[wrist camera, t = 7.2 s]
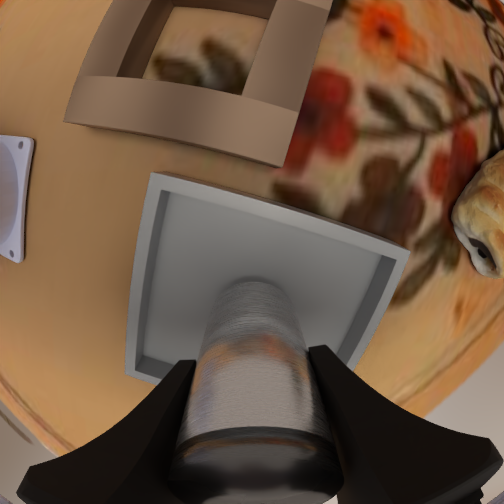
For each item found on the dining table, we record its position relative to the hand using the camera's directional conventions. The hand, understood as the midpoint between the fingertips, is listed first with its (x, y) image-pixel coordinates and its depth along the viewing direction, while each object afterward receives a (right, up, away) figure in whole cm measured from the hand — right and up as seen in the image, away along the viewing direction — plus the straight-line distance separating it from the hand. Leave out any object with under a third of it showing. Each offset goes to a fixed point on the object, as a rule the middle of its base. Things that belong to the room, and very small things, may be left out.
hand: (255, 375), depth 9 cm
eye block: (-2, +14, +1) cm, 14 cm away
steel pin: (0, +1, +3) cm, 4 cm away
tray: (0, +1, +5) cm, 5 cm away
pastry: (+16, +8, +4) cm, 18 cm away
